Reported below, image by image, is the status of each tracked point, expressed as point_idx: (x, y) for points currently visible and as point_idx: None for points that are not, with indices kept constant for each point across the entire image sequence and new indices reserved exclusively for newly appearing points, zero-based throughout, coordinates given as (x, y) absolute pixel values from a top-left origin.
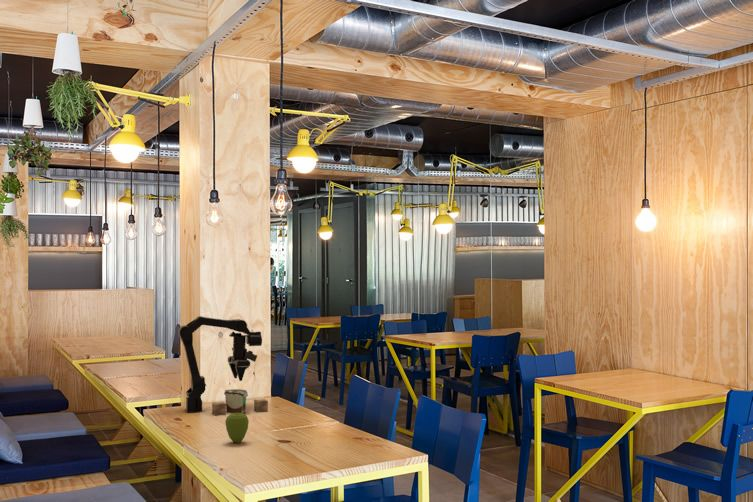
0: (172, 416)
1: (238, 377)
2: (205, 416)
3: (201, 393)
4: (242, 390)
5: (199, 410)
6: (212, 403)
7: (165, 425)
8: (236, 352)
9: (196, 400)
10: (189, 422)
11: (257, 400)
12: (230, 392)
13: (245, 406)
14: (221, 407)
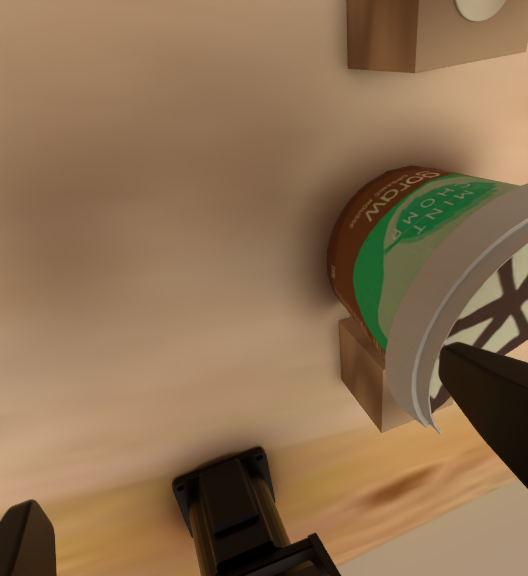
0: (332, 526)
1: (500, 441)
2: None
3: (333, 564)
4: (496, 258)
5: (260, 463)
6: (385, 427)
7: (485, 489)
8: None
9: (287, 537)
10: None
11: (470, 33)
12: None
13: (468, 176)
14: None
